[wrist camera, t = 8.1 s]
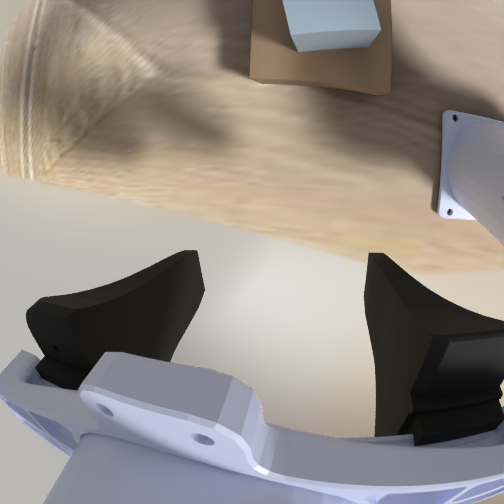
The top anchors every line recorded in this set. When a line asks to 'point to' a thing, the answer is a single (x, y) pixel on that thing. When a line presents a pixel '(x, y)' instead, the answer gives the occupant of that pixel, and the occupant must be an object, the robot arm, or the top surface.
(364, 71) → the walnut block
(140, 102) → the top surface
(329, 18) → the slate-blue cube
